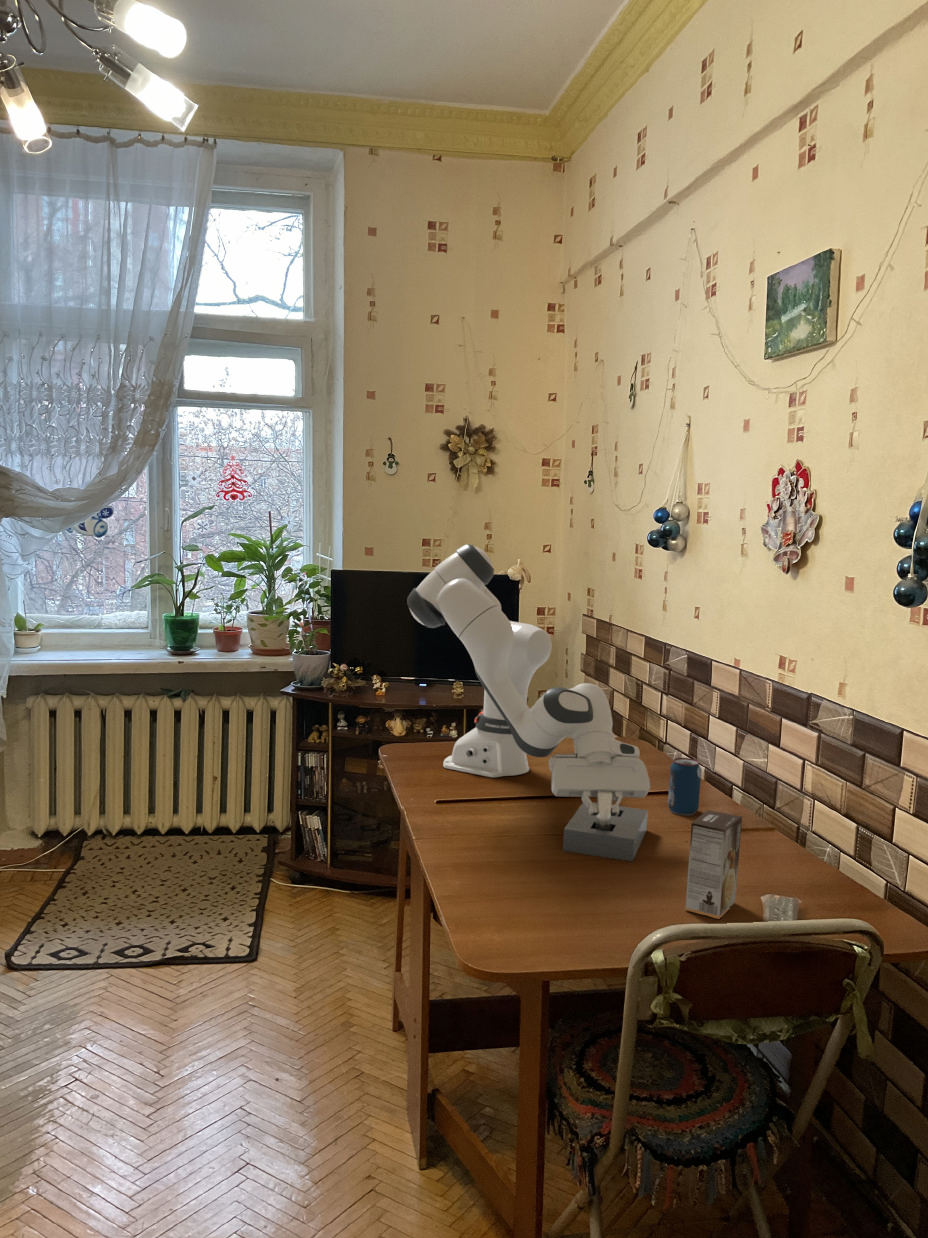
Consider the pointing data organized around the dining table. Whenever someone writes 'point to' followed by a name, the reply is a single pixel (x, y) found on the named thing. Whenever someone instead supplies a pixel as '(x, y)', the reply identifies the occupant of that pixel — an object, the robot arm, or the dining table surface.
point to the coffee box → (713, 862)
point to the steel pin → (604, 810)
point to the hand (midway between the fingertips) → (604, 814)
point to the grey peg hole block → (606, 834)
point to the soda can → (684, 786)
